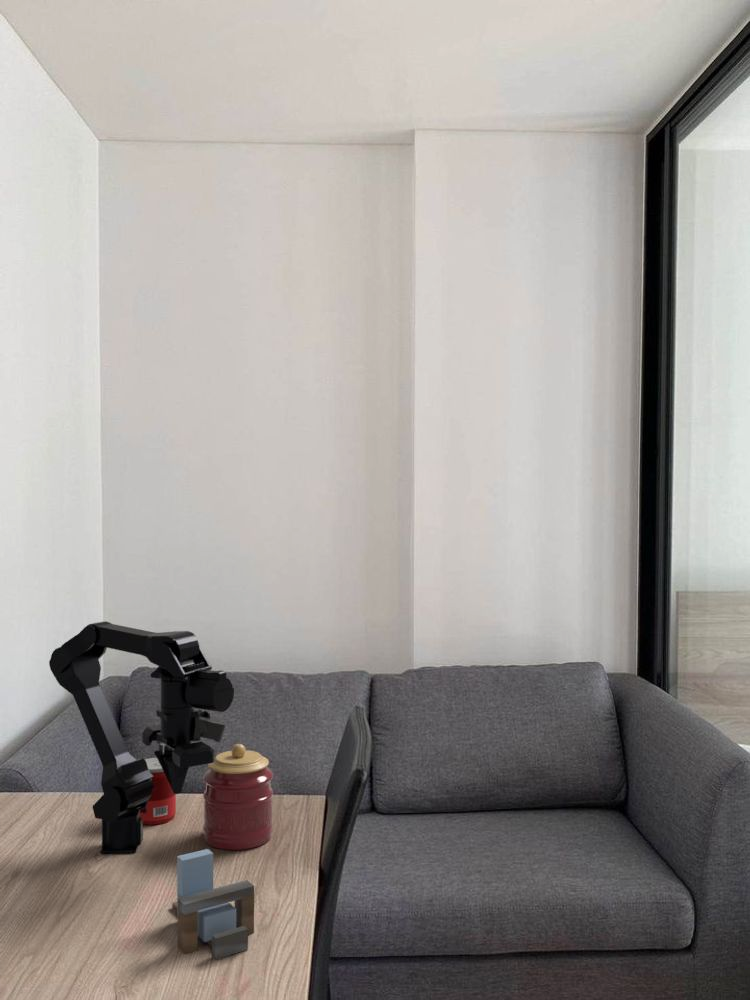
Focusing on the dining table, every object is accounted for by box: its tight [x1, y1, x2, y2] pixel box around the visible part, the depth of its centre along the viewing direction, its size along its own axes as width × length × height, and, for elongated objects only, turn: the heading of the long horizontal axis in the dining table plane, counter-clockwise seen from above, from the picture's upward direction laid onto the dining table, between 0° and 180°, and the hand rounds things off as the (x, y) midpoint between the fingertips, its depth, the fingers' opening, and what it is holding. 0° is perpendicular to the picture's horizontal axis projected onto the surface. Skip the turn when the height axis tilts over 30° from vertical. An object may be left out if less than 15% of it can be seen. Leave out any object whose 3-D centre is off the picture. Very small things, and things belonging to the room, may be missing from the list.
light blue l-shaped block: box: [176, 848, 236, 943], centre depth 138 cm, size 10×5×9 cm, turn 34°
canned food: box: [140, 757, 177, 826], centre depth 183 cm, size 8×8×11 cm
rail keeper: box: [171, 879, 255, 960], centre depth 138 cm, size 18×11×7 cm, turn 34°
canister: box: [202, 743, 274, 851], centre depth 173 cm, size 13×13×18 cm
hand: (177, 793), depth 163 cm, fingers closed
